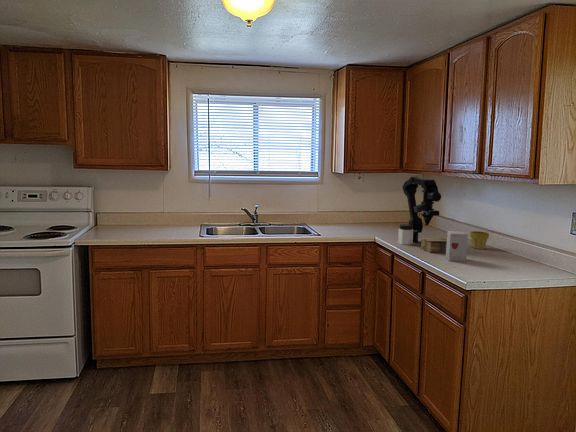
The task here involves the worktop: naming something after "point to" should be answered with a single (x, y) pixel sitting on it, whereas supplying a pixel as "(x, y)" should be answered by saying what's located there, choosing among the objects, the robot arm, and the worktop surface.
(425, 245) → the cardboard box
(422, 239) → the lid
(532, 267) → the worktop surface
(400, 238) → the jar
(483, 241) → the plant pot
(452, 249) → the supplement box
